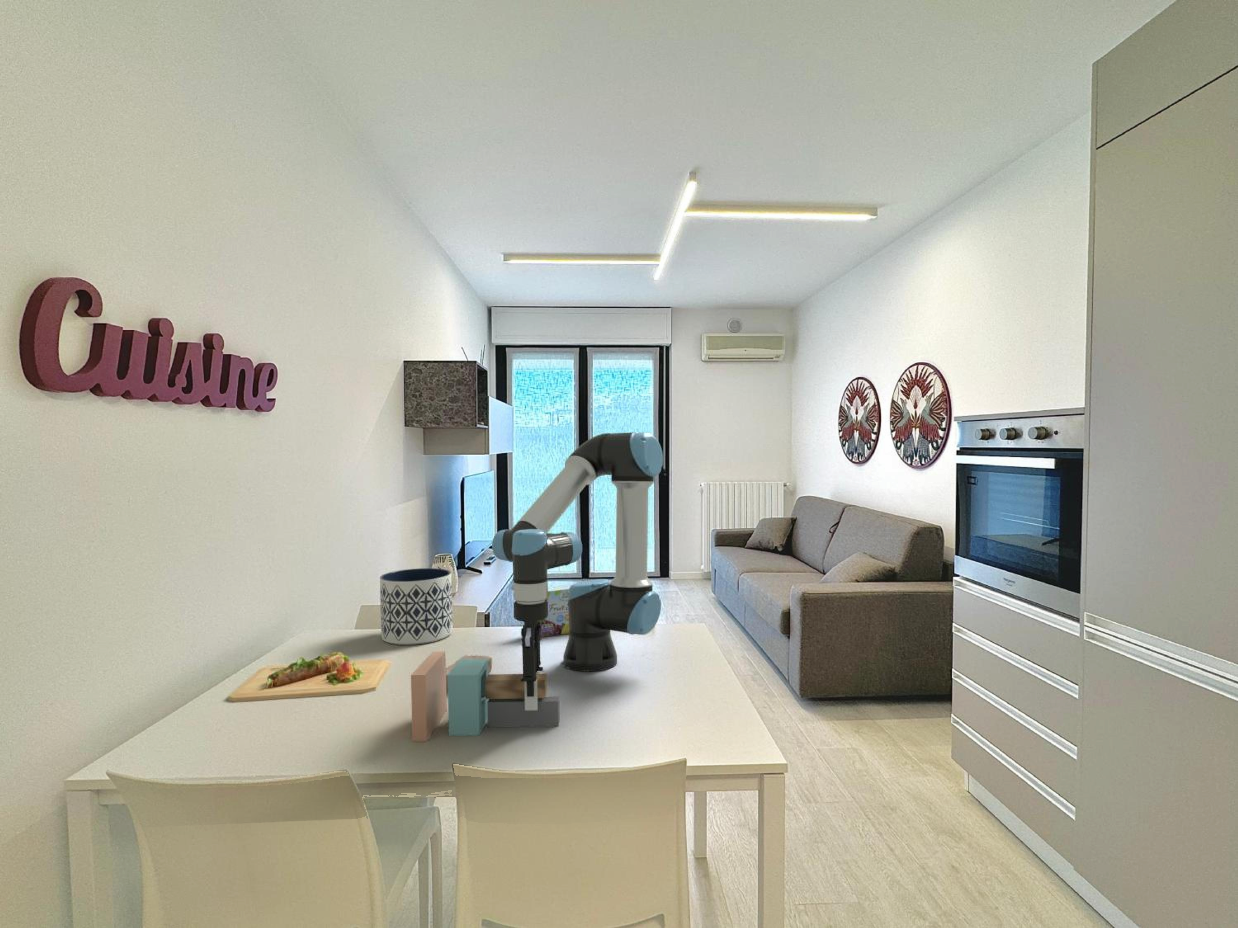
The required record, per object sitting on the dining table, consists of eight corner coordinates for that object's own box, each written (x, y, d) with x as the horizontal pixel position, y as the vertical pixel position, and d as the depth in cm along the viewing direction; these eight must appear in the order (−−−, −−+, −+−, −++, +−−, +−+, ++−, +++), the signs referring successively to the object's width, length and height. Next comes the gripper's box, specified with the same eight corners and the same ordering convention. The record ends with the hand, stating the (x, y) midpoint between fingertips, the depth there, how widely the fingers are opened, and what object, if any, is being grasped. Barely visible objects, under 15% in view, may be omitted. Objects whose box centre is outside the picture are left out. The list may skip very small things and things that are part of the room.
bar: (547, 691, 150) (546, 673, 150) (545, 697, 146) (544, 679, 146) (489, 691, 150) (488, 674, 150) (485, 698, 146) (485, 680, 146)
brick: (463, 694, 168) (463, 675, 168) (433, 691, 170) (433, 672, 170) (493, 672, 184) (492, 655, 184) (465, 670, 186) (465, 653, 186)
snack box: (537, 639, 214) (536, 592, 214) (531, 634, 219) (530, 588, 219) (597, 629, 224) (596, 584, 223) (590, 625, 229) (589, 581, 228)
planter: (390, 628, 230) (388, 569, 229) (456, 625, 232) (455, 566, 231) (373, 647, 207) (371, 582, 207) (447, 644, 210) (446, 579, 209)
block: (489, 714, 154) (488, 658, 154) (479, 735, 143) (478, 674, 143) (461, 714, 154) (459, 658, 154) (448, 735, 143) (447, 675, 143)
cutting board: (392, 665, 192) (391, 639, 192) (374, 695, 169) (373, 665, 169) (261, 673, 187) (261, 646, 187) (225, 705, 164) (224, 674, 164)
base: (446, 710, 157) (445, 651, 156) (426, 740, 141) (425, 674, 140) (433, 710, 157) (432, 651, 156) (412, 741, 141) (410, 675, 140)
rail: (559, 720, 150) (559, 696, 150) (558, 725, 147) (558, 701, 147) (490, 721, 150) (489, 697, 150) (487, 726, 147) (487, 702, 147)
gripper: (519, 592, 156) (521, 691, 157) (507, 610, 139) (509, 721, 140) (551, 591, 156) (553, 690, 157) (543, 609, 139) (545, 720, 140)
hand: (532, 705), depth 148 cm, fingers closed on bar, 4 cm apart
